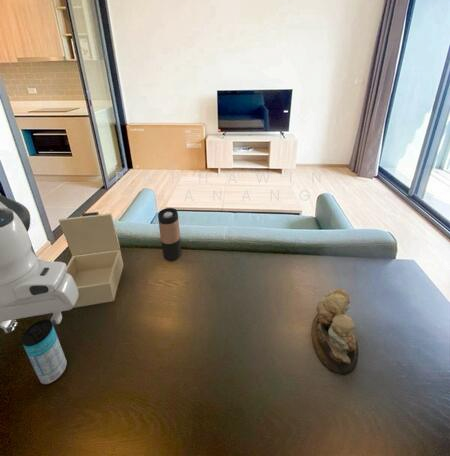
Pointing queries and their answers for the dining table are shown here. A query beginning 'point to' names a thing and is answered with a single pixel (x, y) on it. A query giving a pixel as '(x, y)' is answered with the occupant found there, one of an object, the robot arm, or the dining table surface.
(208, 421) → the dining table surface
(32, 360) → the supplement bottle
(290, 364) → the dining table surface
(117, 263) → the bin
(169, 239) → the travel mug
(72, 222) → the bin lid
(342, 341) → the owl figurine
